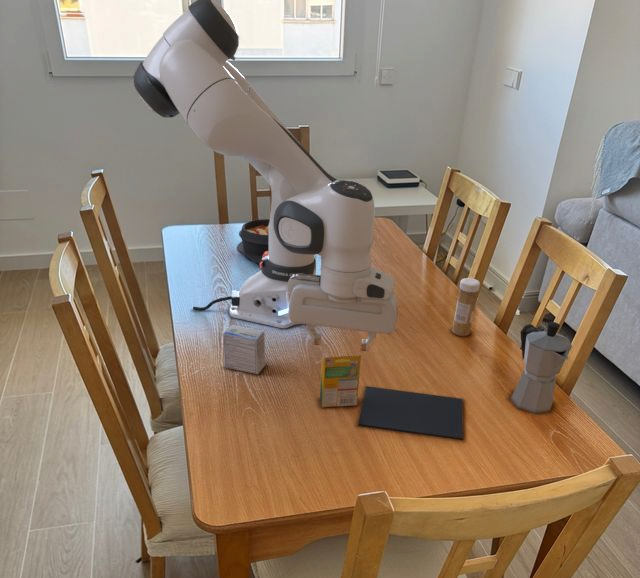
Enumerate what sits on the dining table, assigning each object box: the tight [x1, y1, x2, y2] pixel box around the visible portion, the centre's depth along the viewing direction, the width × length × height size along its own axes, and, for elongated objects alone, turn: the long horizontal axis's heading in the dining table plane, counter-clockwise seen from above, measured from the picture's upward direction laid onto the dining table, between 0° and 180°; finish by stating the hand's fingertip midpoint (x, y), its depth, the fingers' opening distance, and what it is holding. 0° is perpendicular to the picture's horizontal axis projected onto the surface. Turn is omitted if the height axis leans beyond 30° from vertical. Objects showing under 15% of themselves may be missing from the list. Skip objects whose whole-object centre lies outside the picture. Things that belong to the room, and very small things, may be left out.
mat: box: [357, 386, 464, 441], centre depth 127 cm, size 20×14×1 cm
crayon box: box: [319, 354, 362, 409], centre depth 125 cm, size 7×3×12 cm, turn 100°
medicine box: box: [222, 324, 266, 375], centre depth 135 cm, size 8×4×9 cm, turn 71°
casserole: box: [236, 218, 270, 264], centre depth 190 cm, size 25×19×8 cm
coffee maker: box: [509, 321, 573, 414], centre depth 127 cm, size 15×9×18 cm, turn 17°
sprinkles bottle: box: [451, 277, 481, 337], centre depth 152 cm, size 5×5×14 cm
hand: (340, 346), depth 121 cm, fingers open, 8 cm apart
